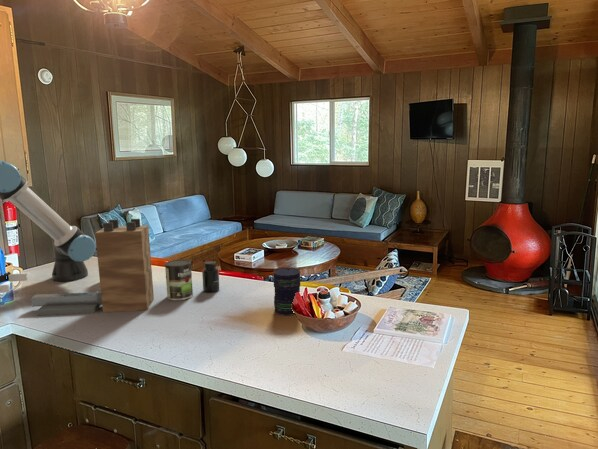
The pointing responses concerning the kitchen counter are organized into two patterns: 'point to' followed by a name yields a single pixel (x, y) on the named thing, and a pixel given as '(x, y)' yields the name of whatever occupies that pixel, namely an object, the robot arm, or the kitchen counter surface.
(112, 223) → the brown wooden tall block
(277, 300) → the storage jar
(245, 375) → the kitchen counter surface
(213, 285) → the supplement bottle
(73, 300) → the grey bar
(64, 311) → the gray block
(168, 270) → the coffee can
